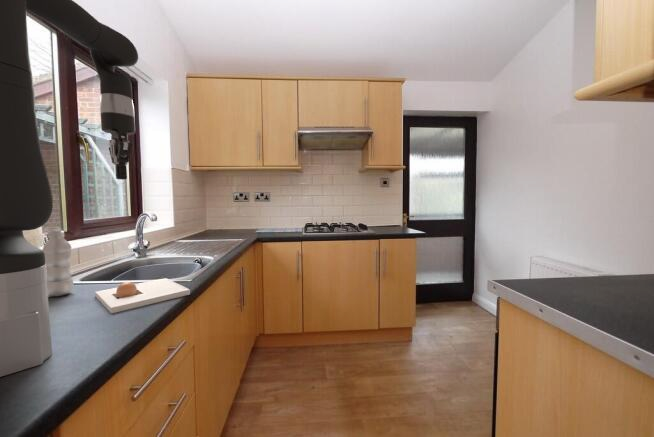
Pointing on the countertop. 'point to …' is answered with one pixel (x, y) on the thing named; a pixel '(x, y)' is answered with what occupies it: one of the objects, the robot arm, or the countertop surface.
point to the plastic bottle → (58, 264)
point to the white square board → (142, 295)
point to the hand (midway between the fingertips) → (121, 179)
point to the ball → (126, 290)
